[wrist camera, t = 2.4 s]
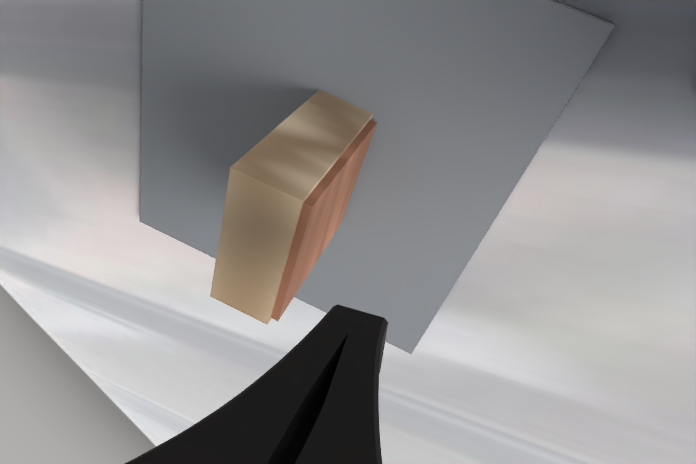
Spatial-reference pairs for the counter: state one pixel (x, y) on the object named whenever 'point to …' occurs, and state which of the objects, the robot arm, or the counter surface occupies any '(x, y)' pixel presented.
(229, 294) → the brown wooden block
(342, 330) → the robot arm
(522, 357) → the counter surface
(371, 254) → the mat
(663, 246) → the counter surface
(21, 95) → the counter surface
